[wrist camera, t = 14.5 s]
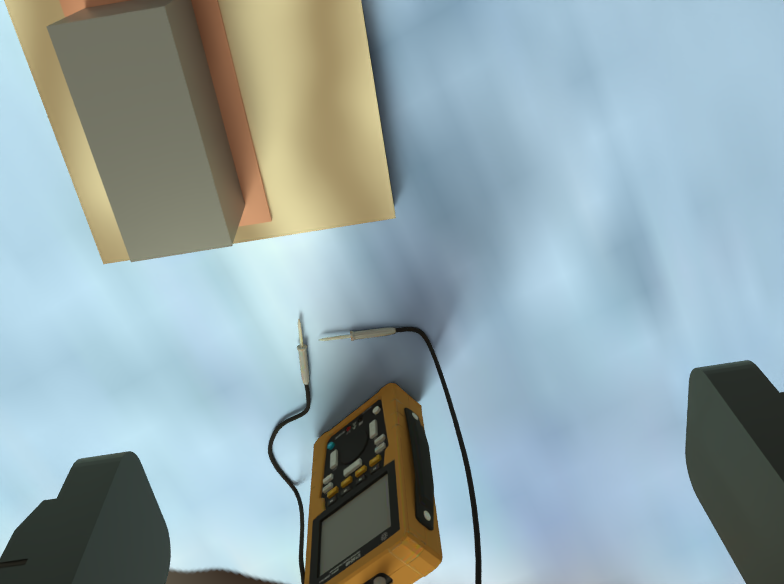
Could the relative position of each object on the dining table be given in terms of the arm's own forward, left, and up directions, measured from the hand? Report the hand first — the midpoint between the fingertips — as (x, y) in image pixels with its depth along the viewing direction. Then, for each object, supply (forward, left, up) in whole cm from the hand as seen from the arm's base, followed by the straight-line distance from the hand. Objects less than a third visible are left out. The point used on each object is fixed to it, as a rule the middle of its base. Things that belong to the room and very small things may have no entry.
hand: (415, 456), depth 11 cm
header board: (+8, +1, -30) cm, 31 cm away
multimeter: (+6, +20, -30) cm, 37 cm away
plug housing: (+10, +1, -28) cm, 30 cm away
